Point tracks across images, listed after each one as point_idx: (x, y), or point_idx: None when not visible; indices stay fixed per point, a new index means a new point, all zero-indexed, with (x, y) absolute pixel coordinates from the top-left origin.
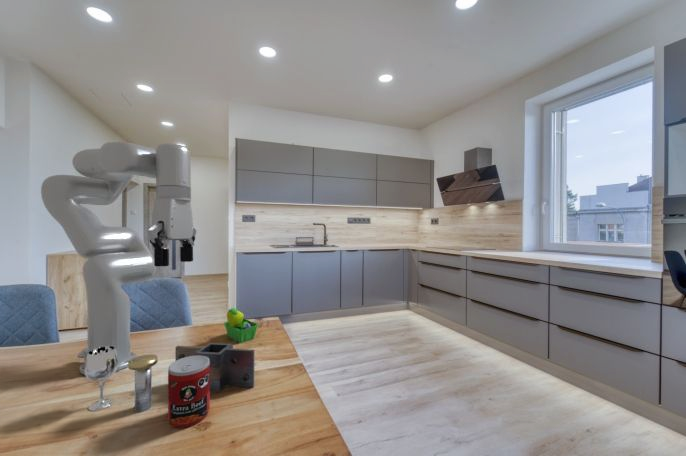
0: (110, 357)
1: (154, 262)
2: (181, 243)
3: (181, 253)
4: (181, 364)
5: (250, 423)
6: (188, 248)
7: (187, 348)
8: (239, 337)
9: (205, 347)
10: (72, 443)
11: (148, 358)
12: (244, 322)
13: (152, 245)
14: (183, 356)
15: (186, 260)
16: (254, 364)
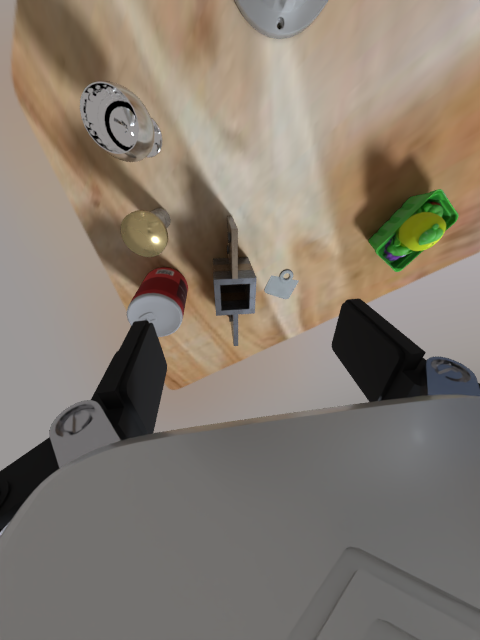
0: (119, 157)
1: (129, 330)
2: (425, 384)
3: (368, 332)
4: (153, 305)
5: (175, 339)
6: (372, 390)
7: (232, 252)
8: (373, 242)
9: (236, 283)
10: (74, 185)
11: (151, 240)
12: (407, 249)
13: (49, 433)
14: (228, 242)
15: (338, 330)
16: (285, 296)
